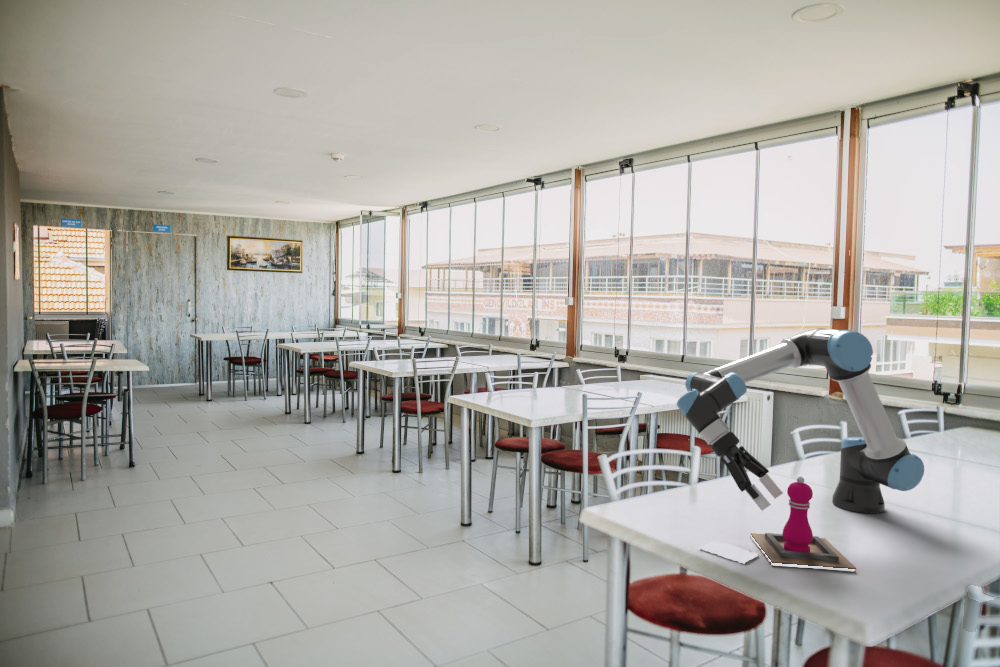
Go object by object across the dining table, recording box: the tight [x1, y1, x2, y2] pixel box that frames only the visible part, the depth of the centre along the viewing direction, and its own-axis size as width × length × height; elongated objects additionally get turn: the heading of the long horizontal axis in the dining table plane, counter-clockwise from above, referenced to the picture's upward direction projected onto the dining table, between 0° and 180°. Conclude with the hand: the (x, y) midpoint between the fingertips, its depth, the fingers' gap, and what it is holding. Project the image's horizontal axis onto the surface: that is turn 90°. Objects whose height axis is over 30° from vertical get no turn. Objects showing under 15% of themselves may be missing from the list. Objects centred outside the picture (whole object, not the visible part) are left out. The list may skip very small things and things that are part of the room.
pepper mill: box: [782, 476, 814, 552], centre depth 168 cm, size 7×7×20 cm
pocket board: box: [750, 532, 857, 570], centre depth 171 cm, size 20×20×3 cm
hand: (773, 501), depth 174 cm, fingers open, 13 cm apart
